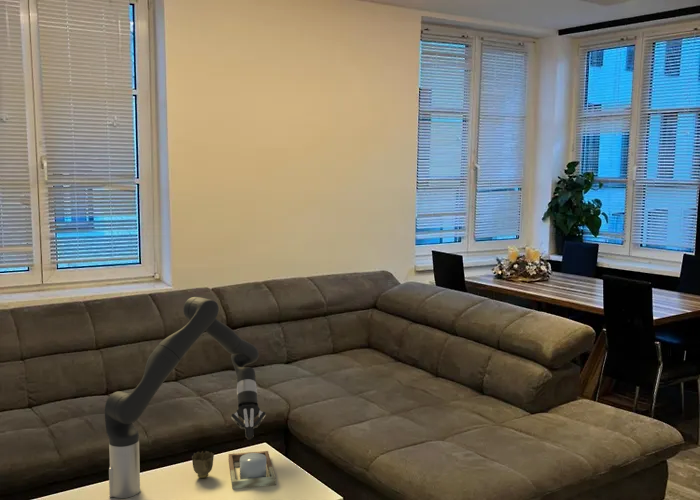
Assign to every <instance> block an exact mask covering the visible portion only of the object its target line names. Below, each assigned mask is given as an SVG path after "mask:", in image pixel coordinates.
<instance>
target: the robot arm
mask: <svg viewBox="0 0 700 500" xmlns="http://www.w3.org/2000/svg"><path fill="white" fill-rule="evenodd" d="M219 308H220V307H219V305H218V303H217V302H216V301H215V300H213V299H210V298H205V297H200V296H193V297H189V298H188V299H187V300H186V301H185V302H184V304H183V314H184V317H186V319H187V320H188V322H187V323H186V324H185V325H184V326H183V327H182V328H180V329H179V330H177V331H175V332H174V333H172V334H170V335H168V336H167V337H165V338H164V339H163V340H161V341H160V342H159V343H158V344H157V346H156V347H155V348H154V350H153V351H152V352H151V353H150V354H149V356H148V358H147V361H146V364H145V367H144V372H143V374H142V375H143V376H142V378H141V379H140V381H139V383H138V384H137V385H136V387H135V388H134V389H133V390H132V391H131V393H128V392H126V391H114V392H113V393H111V394H110V395H109V396H108V397H107V399H106V401H105V404H104V421H105V422H104V423H105V433H106V435H107V437H108V447H109V448H108V449H109V450H108V451H109V467H108V482H109V483H108V484H109V489H108V490H109V498H116V499H127V498H131V497H134V496H136V495H137V494H139V493H140V491H141V475H140V474H141V473H140V471H141V470H140V468H141V467H140V466H141V465H140V432H139V431H138V429H137V428H136V427H135V425H134V423H135V422H137V421H138V420H139V419H140V418H141V417H142V415H143V413H144V412H145V410H146V409H147V407H148V406H149V404H150V403H151V401H152V399H153V398H154V396H155V394H157V391H159V389H160V387H161V386H162V385H163V383H164V382H165V381H166V380H167V378H168V377H169V376H170V375H171V373H172V372H173V371H174V369H175V368H176V367H177V366H178V365H179V363H180V362H181V360H182V359H183V358H184V357H185V355H186V353H188V351H189V350H190V349H191V348H192V346H193V345H194V344H195V342H196V341H198V339H199V338H200V337H201V336H202V335H203V334H204V332H206V334H208V335H210V337H212V339H214V340H215V341H216V343H218V344H219V345H220V346H221V347H222V349H224V350H225V351H226V352H227V353H229V354H231V355H230V359H231V362H232V365H233V368H234V371H235V374H236V397H237V398H236V401H237V408H236V412H235V413H232V414H231V418H230V419H231V420H232V421H233V422H234V423H235V424H236V426H238V427H239V428H240V429H241V430H244V432H245V433H244V435H245V438H246V439H247V440H252V439H253V438H254V435H255V434H254V429H255V428H258V427H259V426H260V425H261V423H262V421H264V419H265V418H266V411H261V408H260V407H259V398H258V396H259V395H258V387H257V380H256V371H255V369H254V368H253V367H250V366H247V365H251V364H253V363H256V362H257V361H258V359H259V357H260V353H259V350H258V349H257V347H256V346H255V345H254V344H252V343H251V342H249V341H247V340H245V339H244V338H241V337H240V336H239V335H238V334H237V333H236V332H235V331H234V330H233V329H232V328H230V327H229V326H228V325H226V324H225V323H223V322H221V321H220V320H218V319H217V317H218V314H219V311H220V310H219ZM257 417H258V418H257ZM239 418H240V419H241V420H242V421H243V422H242V421H241V420H240V419H239ZM256 418H257V419H256ZM254 420H256V421H255V422H254Z"/></svg>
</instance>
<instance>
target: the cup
mask: <svg viewBox="0 0 700 500" xmlns="http://www.w3.org/2000/svg"><path fill="white" fill-rule="evenodd" d="M214 454H215V453H213V452H212V451H211V452H210V451H209V450H208V451H207V450H205V451H204V450H202V451H201V452H200V451H197V452H196V453H195V452H194V453H193V455H191V461H192V468H193V471H194V473H195V474H197V478H198V479H201V480H202V479H204V480H205V479H207V478H208V477H209V473H210V472H211V471H212V469H213V465H214V456H215V455H214Z"/></svg>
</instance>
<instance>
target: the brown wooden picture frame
mask: <svg viewBox="0 0 700 500" xmlns="http://www.w3.org/2000/svg"><path fill="white" fill-rule="evenodd" d="M248 453H260V454H264V455H265V456H266V469H267V472H268V475H269V476H266V477H261V478H250V479H240V478H239V479H236V474H235V473H236V472H235V468H240V457H241V456H243V455H245V454H248ZM269 453H270V452H269V450H263V451H262V450H261V451H250V452H249V451H248V452H240V453H239V452H236V453H228V467H229V474H230V480H231V481H230V484H231V488H232V489H233V490H236V489H247V488H258V487H267V486H269V487H270V486H276V481H277V480H276V475H275V471H274V468H273V463H272V460H271V457H270V454H269Z"/></svg>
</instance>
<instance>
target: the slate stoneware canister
mask: <svg viewBox="0 0 700 500" xmlns="http://www.w3.org/2000/svg"><path fill="white" fill-rule="evenodd" d="M247 453H248V452H247ZM239 462H240V467H239V479H250V478H261V477H267V464H266V456H265V455H264V454H260V453H248V454H245V455H243V456H241V457H240V461H239Z"/></svg>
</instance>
